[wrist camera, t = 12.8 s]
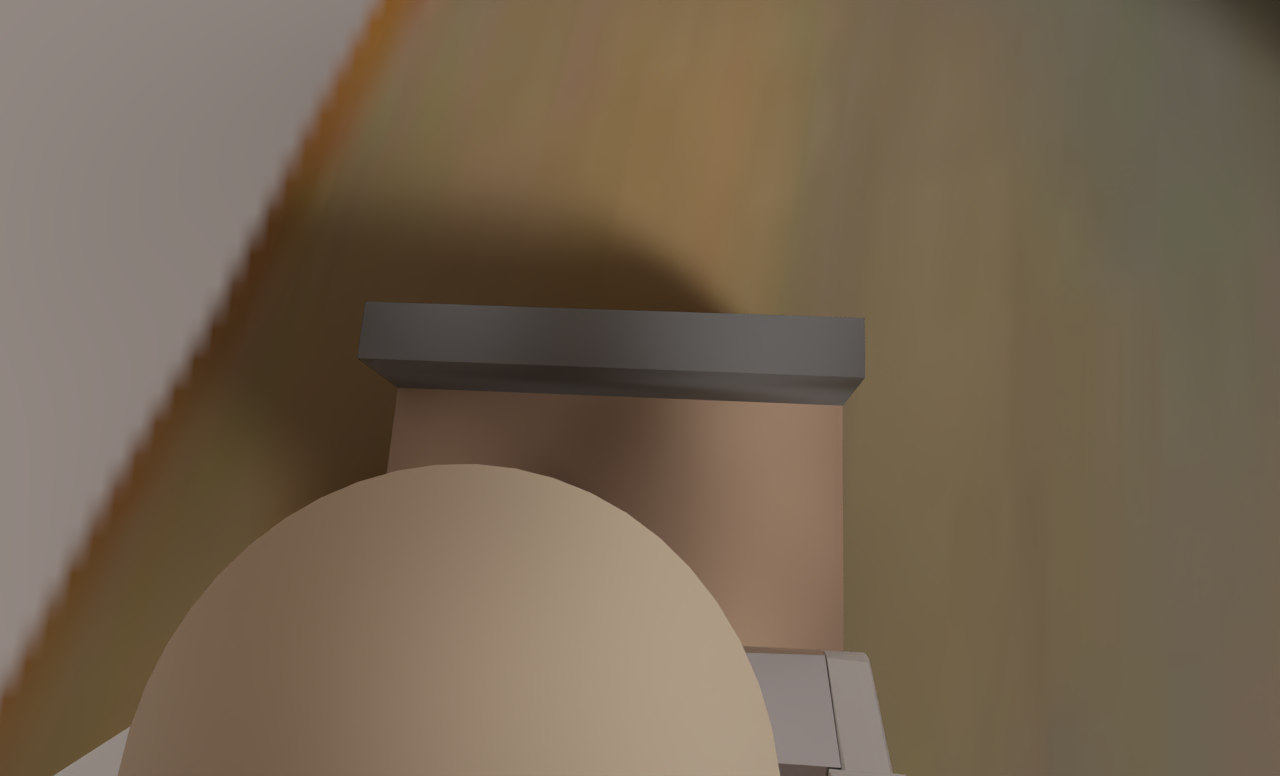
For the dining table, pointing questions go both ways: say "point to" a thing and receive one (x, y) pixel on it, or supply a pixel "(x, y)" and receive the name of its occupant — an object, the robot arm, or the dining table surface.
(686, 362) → the brown grey block
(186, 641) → the birch roller
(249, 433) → the dining table surface
